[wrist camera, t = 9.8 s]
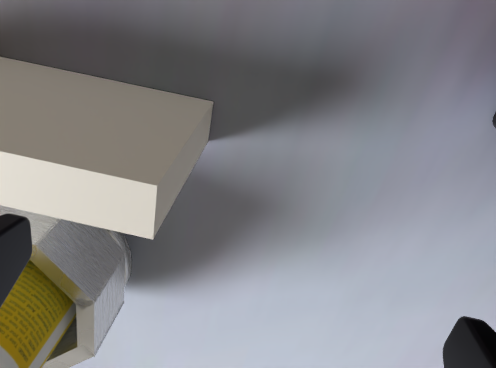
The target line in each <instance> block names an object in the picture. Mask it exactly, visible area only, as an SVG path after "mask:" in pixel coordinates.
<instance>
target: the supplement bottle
mask: <svg viewBox="0 0 496 368" xmlns="http://www.w3.org/2000/svg"><path fill="white" fill-rule="evenodd" d="M75 317H76V303H74V302H73V301H72V300H71V299H70V298H69V297H68V296H67V295H66V294H65V293H64V292H63V291H62V290H61V289H60V288H59V287H58V286H57V285H56V284H55V283H54V282H53V281H52V280H51V279H49V278H48V277H47V276H46V275H45V274H44V273H43V272H42V271H41V270H40V269H39V268H38V267H37V266H36V265H35V264H34V263H33V262H32V261H31V260H30V259H29V261H28V263H27V265H26V266H25V268H24V270H23V271H22V273H21V275H20V276H19V278H18V280H17V281H16V283H15V285H14V286H13V288H12V290H11V291H10V293H9V295H8V296H7V298H6V300H5V301H4V303H3V305H2V306H1V308H0V368H42V367H43V366H44V364H45V362H46V361H47V360H48V358H49V357H50V355H51V354H52V352H53V351H54V349H55V347H56V346H57V344H58V343H59V342H60V340H61V338H62V337H63V335H64V334H65V332H66V331H67V329H68V328H69V326H70V325H71V323H72V322H73V320H74V319H75Z"/></svg>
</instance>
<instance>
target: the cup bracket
mask: <svg viewBox="0 0 496 368" xmlns="http://www.w3.org/2000/svg"><path fill="white" fill-rule="evenodd" d="M7 213H11V214H16V215H20V216H25V217H27V218H28V219H29V221H30V226H31V237H32V254H31V257H30V260H31V261H32V262H33V263H34V264H35V265H36V266H37V267H38V268H39V269H40V270H41V271H42V272H43V273H44V274H45V275H46V276H47V277H48V278H49V279H51V280H52V281H53V282H54V283H55V284H56V285H57V286H58V287H59V288H60V289H61V290H62V291H63V292H64V293H65V294H66V295H67V296H68V297H69V298H70V299H71V300H72V301H73V302H74V303H76V317H75V319H74V320H73V322H72V323H71V325H70V326H69V328H68V329H67V331H66V332H65V334H64V335H63V337H62V338H61V340H60V342H59V343H58V344H57V346H56V347H55V349H54V351H53V352H52V354H51V355H50V357H49V358H48V360H47V361H46V362H45V364H44V366H43V367H42V368H69V367H71V366H73V365H76V364H78V363H80V362H82V361H84V360H87V359H89V358H91V357H95V355H96V353H97V351H98V349H99V348H100V346H101V344H102V342H103V340H104V338H105V337H106V335H107V333H108V331H109V329H110V327H111V326H112V324H113V322H114V320H115V318H116V316H117V315H118V313H119V311H120V309H121V307H122V305H123V304H124V288H125V286H126V284H127V282H128V280H129V277H130V274H131V268H132V257H131V252H130V248H129V245H128V242H127V240H126V238H125V236H124V234H123V233H121V232H117V231H113V230H108V229H104V228H99V227H95V226H90V225H86V224H82V223H77V222H73V221H68V220H64V219H59V218H55V217H50V216H46V215H42V214H37V213H33V212H28V211H24V210H19V209H15V208H11V207H6V206H2V205H0V216H1V215H4V214H7Z"/></svg>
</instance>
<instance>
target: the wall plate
mask: <svg viewBox="0 0 496 368" xmlns="http://www.w3.org/2000/svg"><path fill="white" fill-rule="evenodd" d="M212 109H213V101H208V100H203V99H199V98H194V97H189V96H185V95H180V94H175V93H170V92H166V91H161V90H156V89H151V88H147V87H142V86H137V85H132V84H128V83H123V82H118V81H113V80H109V79H104V78H99V77H95V76H90V75H85V74H80V73H76V72H71V71H66V70H61V69H57V68H52V67H47V66H42V65H38V64H33V63H28V62H23V61H19V60H14V59H9V58H4V57H0V205H2V206H6V207H11V208H15V209H19V210H24V211H28V212H33V213H37V214H42V215H46V216H50V217H55V218H59V219H64V220H68V221H73V222H77V223H82V224H86V225H90V226H95V227H99V228H104V229H108V230H113V231H117V232H121V233H126V234H130V235H135V236H139V237H144V238H148V239H152V240H153V239H154V237H155V235H156V234H157V232H158V230H159V228H160V226H161V225H162V223H163V221H164V219H165V218H166V216H167V214H168V212H169V210H170V209H171V207H172V205H173V203H174V202H175V200H176V198H177V196H178V194H179V193H180V191H181V189H182V187H183V185H184V184H185V182H186V180H187V178H188V177H189V175H190V173H191V171H192V169H193V168H194V166H195V164H196V162H197V161H198V159H199V157H200V155H201V153H202V152H203V150H204V148H205V146H206V145H207V143H208V139H209V132H210V124H211V117H212Z"/></svg>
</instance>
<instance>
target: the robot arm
mask: <svg viewBox="0 0 496 368" xmlns="http://www.w3.org/2000/svg"><path fill="white" fill-rule="evenodd" d="M492 122H493V126H494V127H495V128H496V113H495V115H494V117H493V121H492ZM31 254H32V237H31V226H30V221H29V219H28V218H27V217H25V216H20V215H16V214H11V213H7V214H4V215H1V216H0V308H1V306H2V305H3V303H4V301H5V300H6V298H7V296H8V295H9V293H10V291H11V290H12V288H13V286H14V285H15V283H16V281H17V280H18V278H19V276H20V275H21V273H22V271H23V270H24V268H25V266H26V265H27V263H28V261H29V259H30V257H31ZM443 362H444V368H496V332H495V331H494V330H493V329H492V328H491V327H490V326H489V325H488V324H487V323H486V322H484V321H482V320H480V319H475V318H471V317H466V316H463V317H461V318H459V319H458V321H457V322H456V324H455V326H454V328H453V329H452V331H451V333H450V335H449V336H448V338H447V340H446V342H445V344H444V347H443Z"/></svg>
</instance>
